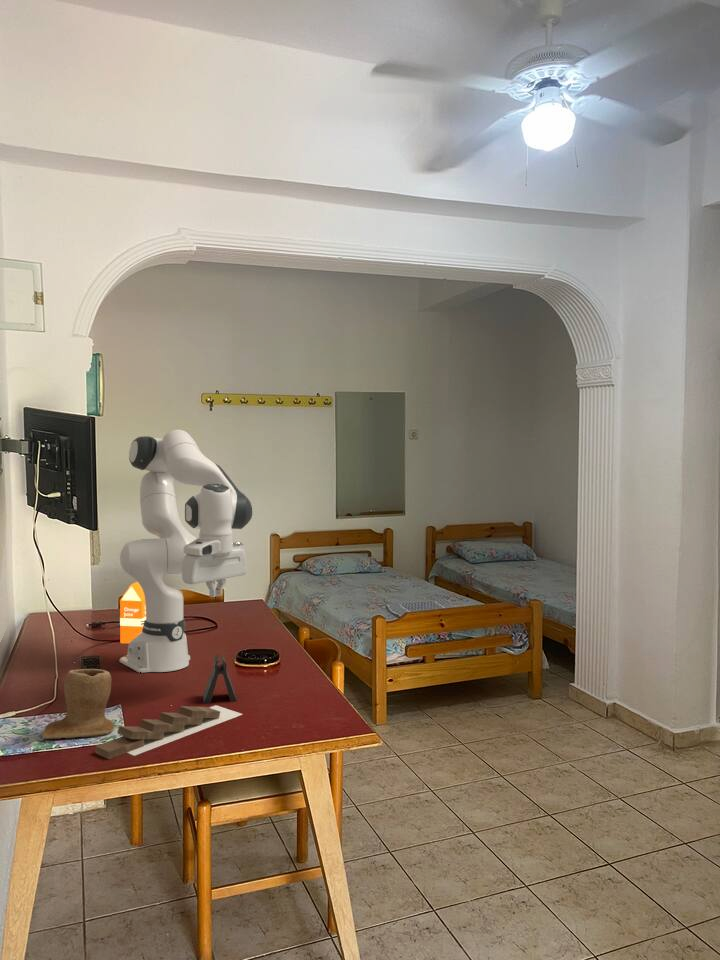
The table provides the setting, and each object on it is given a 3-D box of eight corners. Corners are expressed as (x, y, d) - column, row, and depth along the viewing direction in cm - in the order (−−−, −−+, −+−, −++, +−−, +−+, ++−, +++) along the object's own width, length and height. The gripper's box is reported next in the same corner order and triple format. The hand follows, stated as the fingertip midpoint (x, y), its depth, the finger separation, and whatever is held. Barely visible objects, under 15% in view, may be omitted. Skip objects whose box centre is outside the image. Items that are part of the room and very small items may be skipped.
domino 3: (183, 731, 178) (152, 731, 171) (169, 726, 181) (139, 726, 174) (184, 724, 178) (154, 724, 171) (171, 719, 181) (140, 719, 174)
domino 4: (201, 724, 182) (172, 724, 175) (187, 719, 185) (158, 719, 178) (203, 717, 182) (174, 717, 175) (189, 713, 185) (160, 712, 179)
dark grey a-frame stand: (236, 697, 205) (236, 653, 204) (237, 705, 199) (238, 659, 198) (201, 699, 202) (202, 655, 202) (202, 707, 197) (202, 661, 196)
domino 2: (162, 739, 173) (130, 739, 166) (149, 733, 176) (117, 733, 169) (164, 731, 174) (132, 731, 167) (150, 726, 177) (119, 726, 170)
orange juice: (151, 637, 264) (151, 580, 263) (142, 644, 256) (141, 585, 254) (130, 636, 265) (129, 579, 264) (119, 643, 256) (119, 584, 255)
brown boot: (116, 722, 186) (116, 661, 185) (112, 741, 174) (112, 676, 174) (50, 726, 182) (49, 665, 182) (41, 746, 171) (41, 680, 170)
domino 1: (144, 746, 169) (108, 759, 162) (130, 740, 172) (95, 753, 165) (144, 739, 169) (108, 752, 162) (130, 733, 172) (95, 745, 165)
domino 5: (218, 718, 186) (191, 717, 180) (205, 713, 190) (177, 712, 183) (220, 711, 187) (192, 710, 180) (206, 706, 190) (179, 705, 183)
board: (106, 748, 170) (106, 743, 170) (215, 708, 196) (215, 705, 196) (134, 760, 164) (134, 755, 164) (243, 718, 189) (243, 714, 189)
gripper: (236, 540, 214) (236, 588, 215) (178, 547, 198) (178, 600, 198) (252, 542, 210) (252, 591, 211) (194, 550, 194) (194, 603, 195)
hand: (215, 596), depth 204 cm, fingers closed
